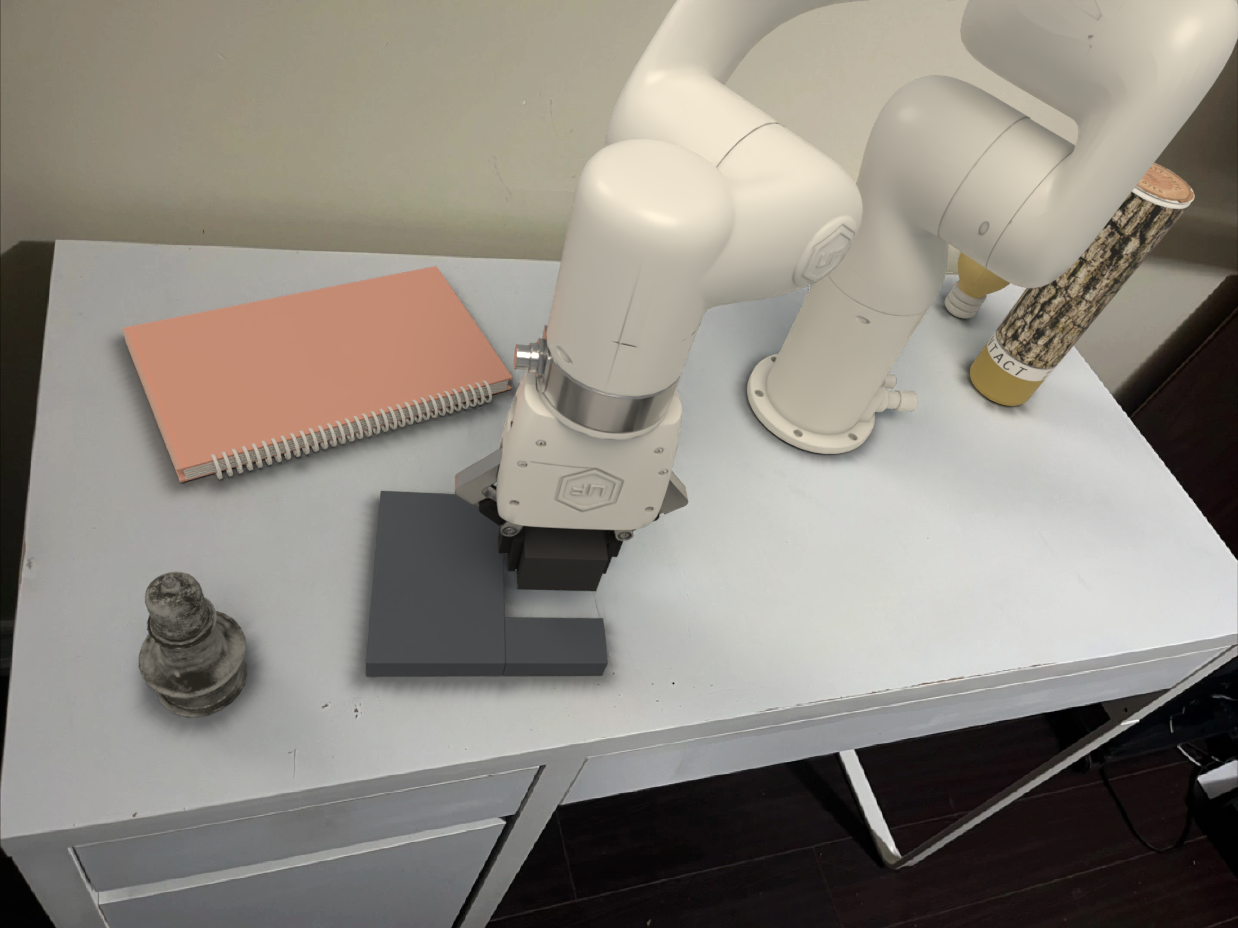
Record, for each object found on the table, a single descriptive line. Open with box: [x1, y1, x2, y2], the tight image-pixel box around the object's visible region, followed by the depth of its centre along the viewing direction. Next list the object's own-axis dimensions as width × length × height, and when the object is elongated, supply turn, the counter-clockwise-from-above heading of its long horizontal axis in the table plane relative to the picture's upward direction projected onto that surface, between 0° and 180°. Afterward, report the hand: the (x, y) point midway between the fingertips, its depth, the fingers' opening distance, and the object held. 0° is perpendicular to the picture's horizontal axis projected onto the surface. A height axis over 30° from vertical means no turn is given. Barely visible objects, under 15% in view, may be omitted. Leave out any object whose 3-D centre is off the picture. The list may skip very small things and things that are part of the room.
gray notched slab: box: [365, 490, 609, 678], centre depth 62 cm, size 16×14×2 cm
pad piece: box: [515, 526, 608, 592], centre depth 59 cm, size 6×6×4 cm
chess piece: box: [138, 571, 248, 718], centre depth 50 cm, size 6×6×12 cm
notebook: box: [120, 265, 514, 483], centre depth 72 cm, size 27×17×2 cm, turn 122°
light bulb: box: [944, 251, 1011, 319], centre depth 95 cm, size 6×6×10 cm
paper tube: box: [969, 162, 1196, 407], centre depth 82 cm, size 7×7×25 cm
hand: (555, 553), depth 60 cm, fingers closed on pad piece, 5 cm apart
